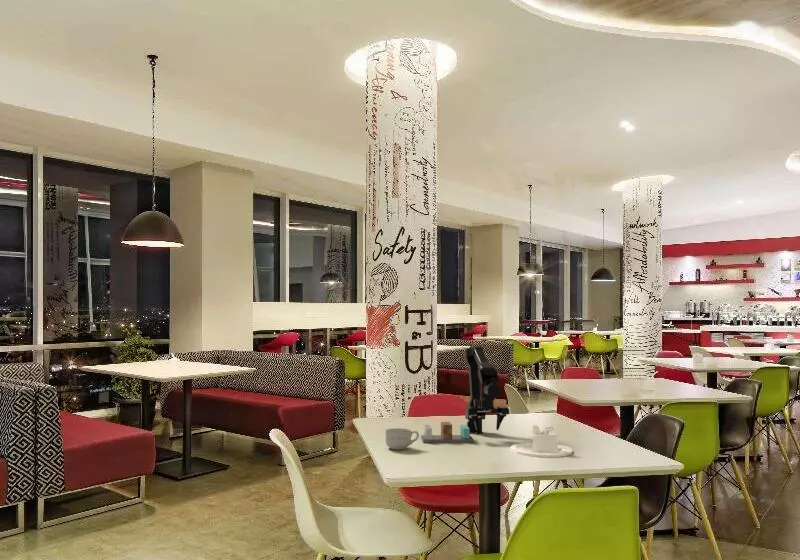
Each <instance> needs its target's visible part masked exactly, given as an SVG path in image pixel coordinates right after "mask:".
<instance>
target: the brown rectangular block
mask: <svg viewBox="0 0 800 560" xmlns="http://www.w3.org/2000/svg"><path fill="white" fill-rule="evenodd" d="M440 435H441V436H442V438H443V439H452V435H453V424H452V423H451V421H440Z"/></svg>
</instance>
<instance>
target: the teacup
mask: <svg viewBox="0 0 800 560" xmlns="http://www.w3.org/2000/svg"><path fill="white" fill-rule="evenodd" d="M413 434H416V437H415V438H414V439H412V437H413V436H412V435H413ZM419 437H420V433H419V431H417V430H411V429H410V428H401V427H400V428H398V427H396V428H394V427H393V428H386V429H385V444H386V447H389V449H391V450H399V451H400V450H406V449H407V448H408V447H409V446H411V445H412V444H413V443H414V442H416V441H417V440H418V439H419Z"/></svg>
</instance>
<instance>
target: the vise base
mask: <svg viewBox="0 0 800 560" xmlns="http://www.w3.org/2000/svg"><path fill="white" fill-rule="evenodd" d="M420 439H421V442H422V443H423V444H448V443H449V444H458V443H459V444H465V443H467V444H470V443H471V444H474V441H475V440H474V437H472V436H471V435H470V438H463V437H462V436H461V434H452V439H443V438H442V436H441V434H433V429H432V426H431V425H430V424H423V434H422V435H421V434H420Z"/></svg>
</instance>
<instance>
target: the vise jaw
mask: <svg viewBox="0 0 800 560" xmlns="http://www.w3.org/2000/svg"><path fill="white" fill-rule="evenodd" d="M459 427H460V430H459V431H460V434H459V435H461V436H462V437H463V438H470V436H471V435H470V434H471V433H470V428H469V427H468V426H467V424H460V426H459Z"/></svg>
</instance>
